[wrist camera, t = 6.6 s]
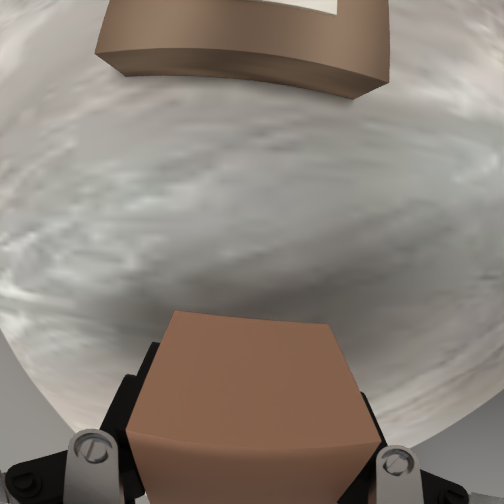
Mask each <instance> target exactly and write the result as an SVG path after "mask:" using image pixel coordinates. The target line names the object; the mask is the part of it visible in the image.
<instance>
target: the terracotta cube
mask: <svg viewBox="0 0 504 504" xmlns="http://www.w3.org/2000/svg"><path fill="white" fill-rule="evenodd" d="M126 433H127V437H128V440H129V444H130V447H131V450H132V453H133V457H134V460H135V463H136V466H137V469H138V472H139V475H140V477H141V480H142V483H143V486H144V488H145V491H146V494H147V496H148V499H149V501H150V504H335V503H336V502H337V501H338V500H339V498H340V497H341V496H342V495H343V494H344V492H345V491H346V490H347V489H348V487H349V486H350V485H351V483H352V482H353V481H354V480H355V478H356V477H357V476H358V474H359V473H360V472H361V470H362V469H363V467H364V466H365V465H366V463H367V462H368V460H369V459H370V457H371V456H372V455H373V453H374V452H375V450H376V449H377V447H378V446H379V444H380V443H381V438H380V436H379V434H378V431H377V429H376V427H375V425H374V422H373V420H372V418H371V415H370V413H369V411H368V409H367V406H366V404H365V402H364V400H363V397H362V395H361V393H360V391H359V388H358V386H357V384H356V382H355V380H354V377H353V375H352V373H351V371H350V369H349V367H348V364H347V362H346V360H345V358H344V356H343V354H342V352H341V349H340V347H339V345H338V343H337V341H336V339H335V337H334V335H333V333H332V331H331V328H330V326H329V324H317V323H300V322H285V321H272V320H260V319H249V318H238V317H228V316H219V315H210V314H201V313H193V312H185V311H177V310H175V311H174V313H173V316H172V318H171V320H170V323H169V325H168V327H167V329H166V332H165V334H164V336H163V339H162V341H161V343H160V346H159V348H158V350H157V353H156V355H155V358H154V360H153V362H152V365H151V367H150V370H149V372H148V374H147V377H146V379H145V382H144V384H143V387H142V389H141V392H140V394H139V397H138V399H137V402H136V404H135V407H134V409H133V412H132V415H131V417H130V420H129V422H128V425H127V428H126Z"/></svg>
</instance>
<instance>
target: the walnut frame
mask: <svg viewBox="0 0 504 504" xmlns="http://www.w3.org/2000/svg"><path fill="white" fill-rule="evenodd" d="M95 54H96V55H97V56H98V57H100V58H101V59H103V60H104V61H105V62H107V63H108V64H110V65H111V66H112V67H114V68H115V69H116V70H118V71H119V72H121V73H122V74H123V75H125V76H150V75H185V76H209V77H224V78H235V79H245V80H254V81H262V82H270V83H277V84H283V85H289V86H295V87H301V88H306V89H311V90H316V91H321V92H326V93H330V94H334V95H339V96H343V97H347V98H351V99H355V98H358V97H360V96H362V95H364V94H366V93H368V92H370V91H372V90H374V89H376V88H379V87H381V86H383V85H385V84H387V83H389V66H390V31H389V6H388V0H110V2H109V5H108V8H107V11H106V14H105V17H104V20H103V24H102V27H101V31H100V34H99V38H98V42H97V46H96V50H95Z"/></svg>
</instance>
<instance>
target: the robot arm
mask: <svg viewBox="0 0 504 504" xmlns="http://www.w3.org/2000/svg"><path fill="white" fill-rule="evenodd" d="M159 346H160V343H158V342H152V343H151V345H150V347H149V350H148V352H147V354H146V356H145V358H144V360H143V363H142V365H141V367H140V369H139V371H138V374H137V376H135V375H130V374H127V375H125V377H124V378H123V380H122V382H121V384H120V387H119V389H118V391H117V393H116V395H115V397H114V399H113V401H112V403H111V405H110V407H109V409H108V412H107V414H106V416H105V418H104V420H103V422H102V425H101V427H100V429H99V430H98V429H85V430H82V431H79V432H78V433H76V434H75V435H74V436H73V437H72V438H71V440H70V442H69V446H68V450H66V451H62V452H59V453H56V454H52V455H49V456H45V457H41V458H38V459H34V460H30V461H26V462H22V463H18V464H16V465H13V466H12V467H11V468H10V469H8V471H7V472H6V473H3V472H2V471H1V470H0V504H138V500H137V498H138V497H141V496H143V495H144V494H145V488H144V486H143V483H142V480H141V477H140V475H139V472H138V469H137V466H136V463H135V460H134V457H133V453H132V450H131V447H130V444H129V440H128V437H127V433H126V428H127V425H128V422H129V420H130V417H131V415H132V412H133V409H134V407H135V404H136V402H137V399H138V397H139V394H140V392H141V389H142V387H143V384H144V382H145V379H146V377H147V374H148V372H149V370H150V367H151V365H152V362H153V360H154V358H155V355H156V353H157V350H158V348H159ZM360 393H361V395H362V397H363V400H364V402H365V404H366V406H367V409H368V411H369V413H370V415H371V418H372V420H373V422H374V425H375V427H376V429H377V431H378V434H379V436H380V438H381V443H380V444H379V446H378V447H377V449H376V450H375V452H374V453H373V455H372V456H371V457H370V459H369V460H368V462H367V463H366V465H365V466H364V467H363V469H362V470H361V472H360V473H359V474H358V476H357V477H356V478H355V480H354V481H353V482H352V483H351V485H350V486H349V487H348V489H347V490H346V491H345V492H344V494H343V495H342V496H341V497H340V498H339V500H338V501H337V503H338V504H504V498H499V497H494V496H488V495H483V494H478V493H473V492H471V493H470V494H469V495H468V493H467V491H466V490H465V489H464V488H463V487H462V486H460V485H458V484H456V483H453V482H451V481H448V480H445V479H443V478H440V477H438V476H435V475H433V474H430V473H428V472H426V471H423V470H421V469H420V467H419V462H418V458H417V456H416V455H415V454H414V452H413V451H411V450H410V449H409V448H406V447H404V446H400V445H390V446H388V445H387V443H386V440H385V438H384V436H383V433H382V431H381V429H380V427H379V424H378V422H377V420H376V418H375V416H374V413H373V411H372V409H371V407H370V404H369V402H368V400H367V398H366V396H365V394H364V393H363V392H360Z"/></svg>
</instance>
